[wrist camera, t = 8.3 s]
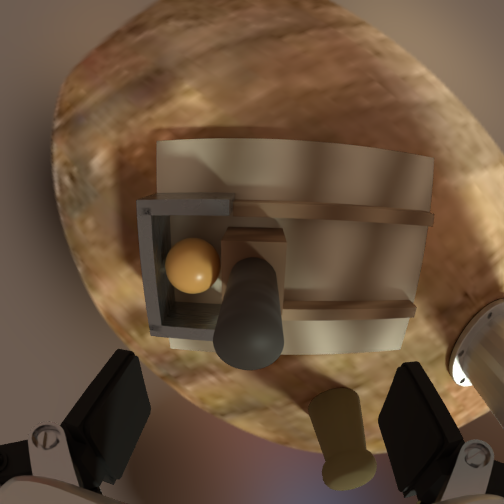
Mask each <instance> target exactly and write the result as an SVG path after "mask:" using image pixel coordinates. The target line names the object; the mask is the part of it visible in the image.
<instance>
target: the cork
mask: <svg viewBox="0 0 504 504" xmlns="http://www.w3.org/2000/svg"><path fill="white" fill-rule="evenodd" d="M308 411H309V416H310V418H311V421H312V424H313V427H314V430H315V433H316V435H317V438H318V441H319V444H320V447H321V450H322V452H323V455H324V458H325V461H326V462H325V464H324V465H323V469H322V476H323V481H324V482H325V484H326V485H327V486H328V487H329V488H331V489H333V490H342V491H343V490H350V489H354V488H357V487H360V486H362V485H364V484H366V483H367V482H368V481H370V480H371V479H372V478H373V476H374V475H375V472H376V465H377V464H376V460H375V458H374V456H373V455H372V454H371V452H370V451H368V450H366V442H365V434H364V426H363V419H362V412H361V406H360V400H359V396H358V394H357V393H356V392H355V391H353V390H351V389H347V388H335V389H331V390H328V391H325V392H323V393H321V394H319V395H318V396H317V397H315V398H314V399H313V400H312V402H311V403H310V405H309V408H308Z"/></svg>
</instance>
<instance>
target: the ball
mask: <svg viewBox="0 0 504 504" xmlns="http://www.w3.org/2000/svg"><path fill="white" fill-rule="evenodd" d="M220 268H221V264H220V258H219V255H218V253H217V251H216V250H215V248H214V247H213V246H212V245H211V244H210V243H208V242H207V241H205V240H203V239H199V238H186V239H183V240H181V241H179V242H177V243H176V244H175V245H174V246H173V247H172V248H171V249H170V250H169V252H168V254H167V257H166V261H165V270H166V274H167V277H168V279H169V281H170V282H171V283H172V285H173V286H174V287H176V288H177V289H178V290H180V291H182V292H185V293H190V294H196V293H201V292H204V291H206V290H207V289H209V288H210V287H211V286H213V284H214V283H215V282H216V280H217V279H218V276H219V273H220Z"/></svg>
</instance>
